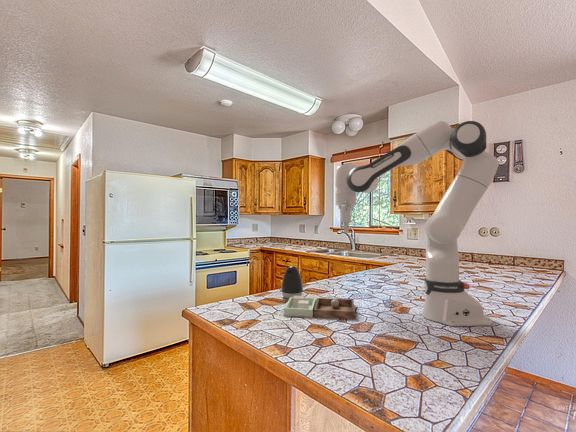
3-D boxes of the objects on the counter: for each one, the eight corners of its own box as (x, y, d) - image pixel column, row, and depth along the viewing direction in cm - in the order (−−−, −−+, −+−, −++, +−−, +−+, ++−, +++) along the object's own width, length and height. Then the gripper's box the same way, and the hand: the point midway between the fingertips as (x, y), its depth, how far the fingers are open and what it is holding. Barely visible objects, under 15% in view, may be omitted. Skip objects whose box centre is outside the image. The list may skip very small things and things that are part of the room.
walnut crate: (353, 307, 125) (353, 299, 125) (355, 321, 110) (355, 311, 110) (317, 306, 128) (317, 297, 128) (314, 319, 112) (313, 309, 112)
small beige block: (309, 310, 120) (309, 300, 119) (308, 313, 116) (308, 303, 116) (299, 310, 120) (299, 300, 120) (297, 313, 116) (297, 303, 116)
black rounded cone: (277, 300, 137) (277, 267, 137) (286, 294, 147) (285, 263, 147) (298, 302, 133) (298, 268, 133) (306, 296, 143) (305, 264, 143)
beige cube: (303, 305, 126) (303, 295, 126) (302, 308, 122) (302, 298, 122) (294, 304, 127) (294, 295, 127) (292, 307, 123) (292, 298, 123)
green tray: (316, 306, 128) (316, 297, 128) (312, 319, 112) (312, 309, 112) (290, 304, 130) (290, 296, 130) (283, 317, 114) (283, 308, 114)
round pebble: (339, 306, 125) (339, 298, 125) (339, 309, 121) (339, 300, 121) (330, 306, 125) (330, 297, 125) (330, 308, 122) (330, 300, 122)
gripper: (354, 199, 122) (354, 234, 122) (352, 201, 142) (352, 231, 142) (338, 200, 123) (338, 234, 123) (338, 202, 143) (339, 231, 143)
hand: (346, 232), depth 132 cm, fingers open, 8 cm apart
